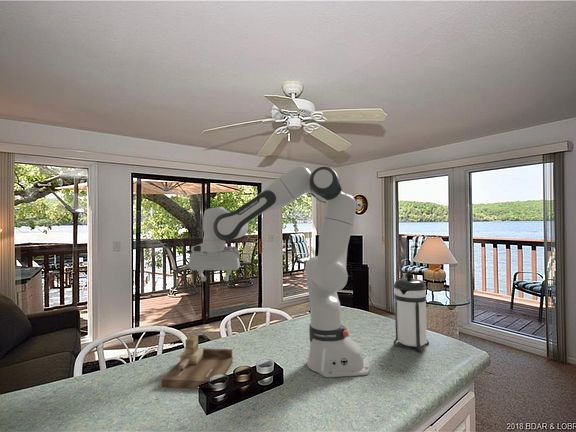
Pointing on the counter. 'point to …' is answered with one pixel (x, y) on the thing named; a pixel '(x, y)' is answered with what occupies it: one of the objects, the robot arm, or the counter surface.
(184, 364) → the marking slider
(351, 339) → the robot arm
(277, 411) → the counter surface
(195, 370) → the walnut board
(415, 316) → the coffee press
